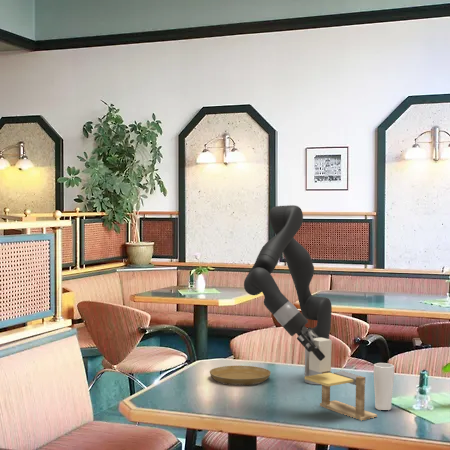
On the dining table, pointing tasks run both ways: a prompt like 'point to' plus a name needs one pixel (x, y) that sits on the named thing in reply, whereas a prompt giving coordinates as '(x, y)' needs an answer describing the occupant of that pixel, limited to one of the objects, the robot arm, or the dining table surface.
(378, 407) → the drinking glass
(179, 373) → the dining table surface
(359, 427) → the dining table surface
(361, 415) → the frame
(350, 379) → the trapdoor
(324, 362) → the white square pillar
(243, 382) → the plant saucer
